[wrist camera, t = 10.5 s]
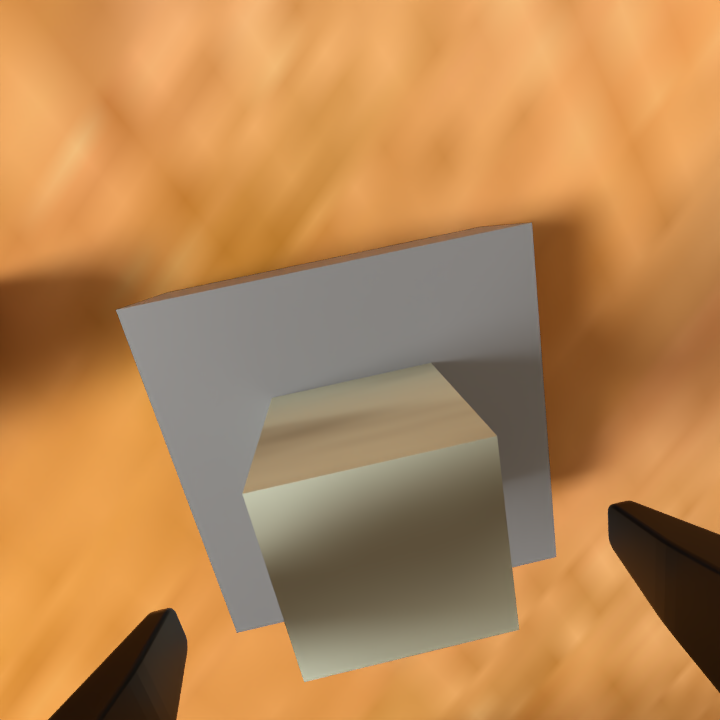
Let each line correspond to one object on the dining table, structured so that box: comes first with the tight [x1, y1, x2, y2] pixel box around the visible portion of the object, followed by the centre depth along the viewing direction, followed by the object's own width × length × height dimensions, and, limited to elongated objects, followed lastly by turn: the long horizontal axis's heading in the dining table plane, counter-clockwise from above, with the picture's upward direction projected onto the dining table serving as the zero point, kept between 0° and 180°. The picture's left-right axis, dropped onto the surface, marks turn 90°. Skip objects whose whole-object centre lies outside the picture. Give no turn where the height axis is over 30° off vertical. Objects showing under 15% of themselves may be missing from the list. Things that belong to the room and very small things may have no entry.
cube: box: [242, 363, 519, 682], centre depth 11 cm, size 5×5×5 cm
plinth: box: [116, 223, 556, 633], centre depth 15 cm, size 12×12×4 cm
